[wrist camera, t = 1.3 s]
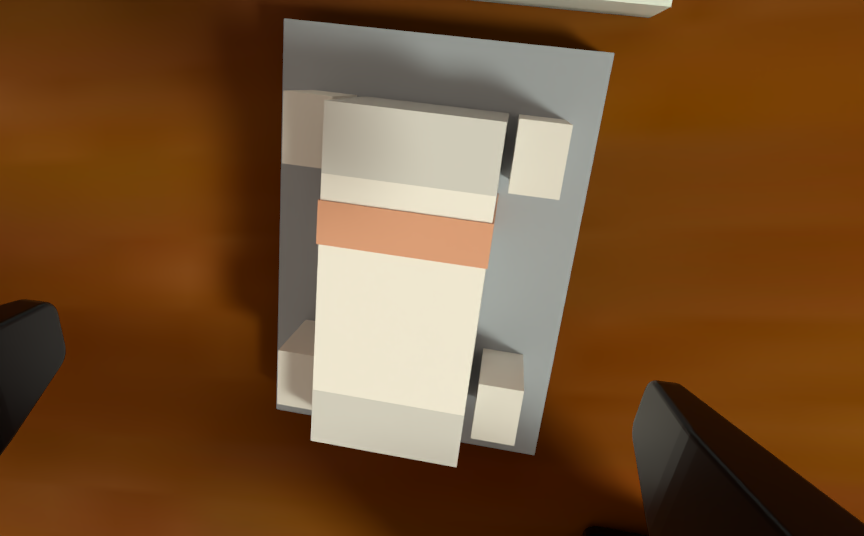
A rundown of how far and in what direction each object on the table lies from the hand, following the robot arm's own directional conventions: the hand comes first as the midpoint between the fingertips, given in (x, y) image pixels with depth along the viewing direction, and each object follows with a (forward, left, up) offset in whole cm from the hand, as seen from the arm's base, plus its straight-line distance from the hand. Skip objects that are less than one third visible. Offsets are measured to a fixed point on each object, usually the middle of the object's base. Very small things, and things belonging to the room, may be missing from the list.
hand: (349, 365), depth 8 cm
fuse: (-2, 0, -11) cm, 11 cm away
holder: (-2, +1, -12) cm, 12 cm away
